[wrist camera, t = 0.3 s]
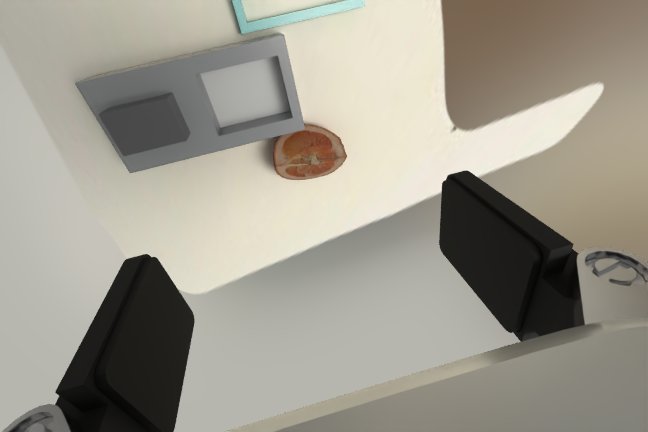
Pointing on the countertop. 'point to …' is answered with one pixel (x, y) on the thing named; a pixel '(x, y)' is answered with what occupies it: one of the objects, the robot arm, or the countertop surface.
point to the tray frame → (291, 15)
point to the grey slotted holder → (196, 102)
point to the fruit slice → (308, 153)
